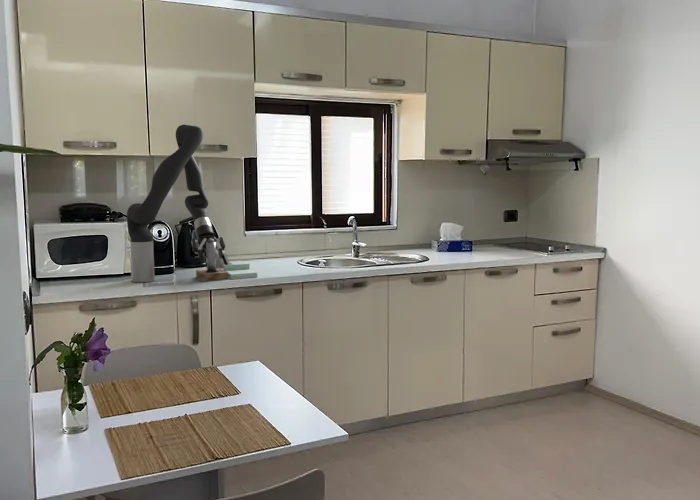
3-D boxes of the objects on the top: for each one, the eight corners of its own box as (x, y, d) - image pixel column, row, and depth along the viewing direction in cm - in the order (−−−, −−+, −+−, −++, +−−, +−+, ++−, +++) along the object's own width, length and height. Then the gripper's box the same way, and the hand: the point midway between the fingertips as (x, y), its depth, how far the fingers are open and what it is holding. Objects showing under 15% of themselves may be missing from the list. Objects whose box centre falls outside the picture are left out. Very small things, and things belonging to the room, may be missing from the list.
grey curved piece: (233, 267, 308) (226, 248, 306) (224, 270, 307) (217, 252, 304) (225, 262, 323) (218, 244, 320) (216, 265, 322) (209, 247, 319)
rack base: (231, 279, 277) (231, 269, 276) (223, 274, 287) (223, 265, 287) (257, 276, 282) (257, 267, 282) (248, 272, 293) (248, 263, 292)
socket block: (202, 281, 271) (202, 274, 271) (196, 277, 281) (196, 270, 281) (227, 279, 277) (227, 272, 276) (220, 275, 286) (220, 268, 286)
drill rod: (208, 279, 276) (207, 240, 274) (206, 277, 280) (205, 239, 277) (217, 278, 278) (216, 239, 276) (215, 277, 282) (214, 238, 279)
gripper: (189, 224, 280) (196, 253, 271) (220, 223, 287) (229, 251, 278) (186, 235, 285) (194, 264, 277) (217, 233, 292) (225, 261, 283)
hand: (211, 257), depth 277 cm, fingers open, 8 cm apart
